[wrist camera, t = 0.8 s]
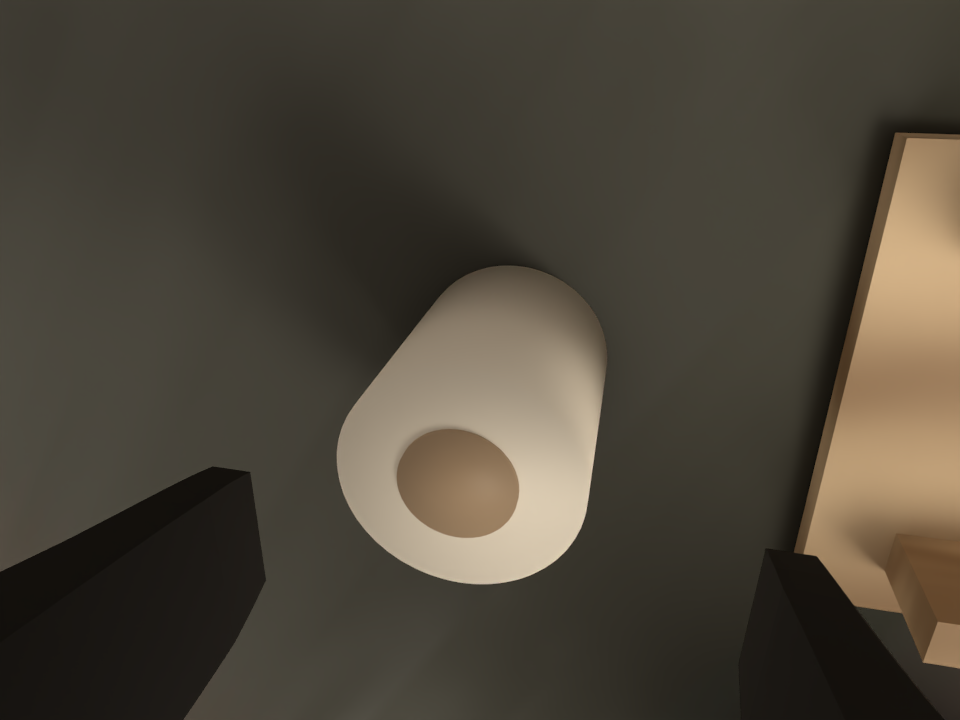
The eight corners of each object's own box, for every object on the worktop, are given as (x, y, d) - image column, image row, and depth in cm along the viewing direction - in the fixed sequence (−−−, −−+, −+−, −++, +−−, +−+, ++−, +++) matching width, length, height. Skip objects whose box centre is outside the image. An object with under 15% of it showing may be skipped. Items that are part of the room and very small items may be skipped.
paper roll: (599, 446, 20) (579, 607, 14) (425, 425, 21) (344, 569, 15) (615, 272, 18) (597, 384, 12) (419, 258, 19) (323, 356, 13)
